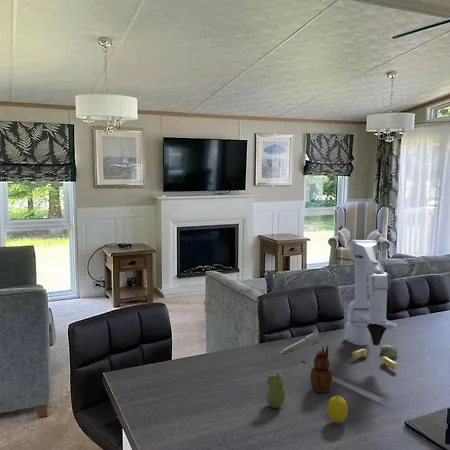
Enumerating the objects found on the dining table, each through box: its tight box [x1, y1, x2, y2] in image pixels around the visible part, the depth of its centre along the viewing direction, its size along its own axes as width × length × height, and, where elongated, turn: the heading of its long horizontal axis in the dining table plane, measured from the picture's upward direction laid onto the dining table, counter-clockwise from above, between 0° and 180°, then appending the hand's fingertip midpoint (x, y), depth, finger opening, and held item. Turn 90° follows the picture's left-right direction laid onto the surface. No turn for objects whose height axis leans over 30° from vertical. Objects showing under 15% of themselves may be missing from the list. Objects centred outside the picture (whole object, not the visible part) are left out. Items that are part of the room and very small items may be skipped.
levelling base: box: [380, 344, 398, 359], centre depth 167 cm, size 14×20×5 cm
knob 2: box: [380, 355, 398, 371], centre depth 158 cm, size 2×7×3 cm, turn 17°
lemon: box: [327, 395, 349, 424], centre depth 125 cm, size 6×6×8 cm
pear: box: [265, 373, 286, 409], centre depth 134 cm, size 6×5×10 cm
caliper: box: [280, 328, 320, 355], centre depth 180 cm, size 21×1×6 cm, turn 124°
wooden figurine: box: [310, 345, 333, 394], centre depth 143 cm, size 7×6×15 cm
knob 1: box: [351, 347, 368, 360], centre depth 166 cm, size 2×7×3 cm, turn 126°
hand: (376, 344), depth 158 cm, fingers closed
